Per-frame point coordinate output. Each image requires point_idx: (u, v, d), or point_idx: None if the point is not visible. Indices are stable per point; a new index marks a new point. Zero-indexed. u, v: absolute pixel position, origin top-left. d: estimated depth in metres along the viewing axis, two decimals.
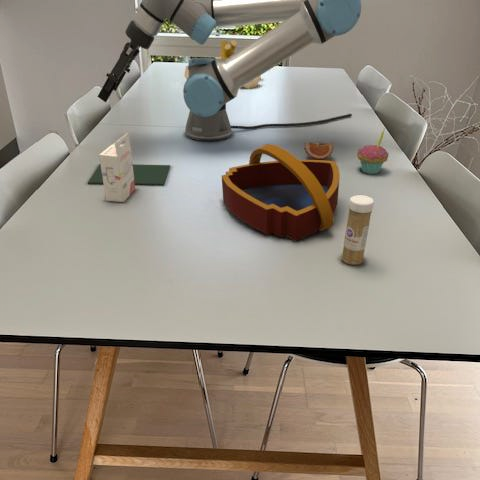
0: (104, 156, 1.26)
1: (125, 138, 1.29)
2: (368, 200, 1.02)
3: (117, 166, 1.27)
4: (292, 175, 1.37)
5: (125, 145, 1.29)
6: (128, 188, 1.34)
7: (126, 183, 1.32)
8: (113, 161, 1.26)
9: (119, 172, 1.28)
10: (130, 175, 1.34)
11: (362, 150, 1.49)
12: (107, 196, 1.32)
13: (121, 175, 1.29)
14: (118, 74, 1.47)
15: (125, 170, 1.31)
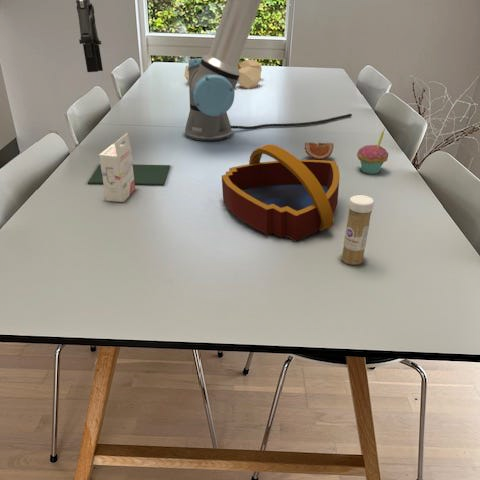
0: (104, 156, 1.26)
1: (125, 138, 1.29)
2: (368, 200, 1.02)
3: (117, 166, 1.27)
4: (292, 175, 1.37)
5: (125, 145, 1.29)
6: (128, 188, 1.34)
7: (126, 183, 1.32)
8: (113, 161, 1.26)
9: (119, 172, 1.28)
10: (130, 175, 1.34)
11: (362, 150, 1.49)
12: (107, 196, 1.32)
13: (121, 175, 1.29)
14: (88, 30, 1.33)
15: (125, 170, 1.31)
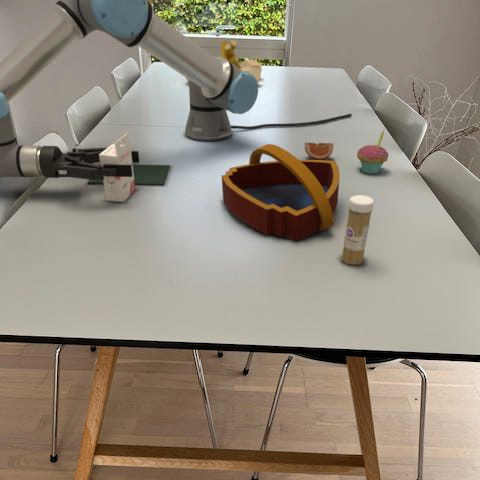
0: (104, 155, 1.26)
1: (125, 138, 1.29)
2: (368, 200, 1.02)
3: None
4: (292, 175, 1.37)
5: (125, 145, 1.29)
6: (128, 188, 1.34)
7: (126, 183, 1.32)
8: (113, 160, 1.26)
9: None
10: None
11: (362, 150, 1.49)
12: (107, 196, 1.32)
13: None
14: (88, 171, 1.24)
15: None
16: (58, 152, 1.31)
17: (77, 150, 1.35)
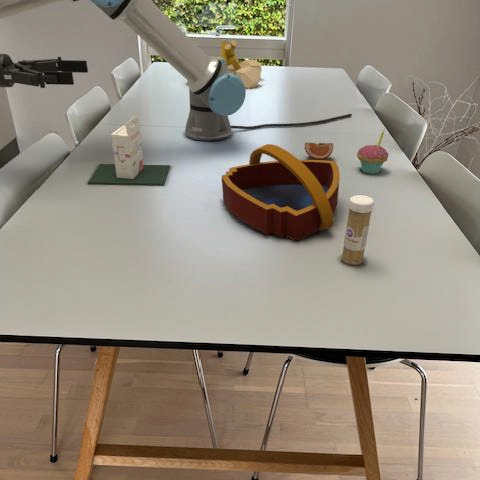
0: (116, 135, 1.37)
1: (135, 119, 1.40)
2: (368, 200, 1.02)
3: (127, 145, 1.38)
4: (292, 175, 1.37)
5: (135, 126, 1.40)
6: (137, 166, 1.45)
7: (135, 161, 1.43)
8: (124, 140, 1.37)
9: (129, 150, 1.39)
10: (139, 154, 1.45)
11: (362, 150, 1.49)
12: (117, 173, 1.43)
13: (131, 154, 1.40)
14: (28, 76, 1.24)
15: (135, 149, 1.42)
16: (8, 60, 1.32)
17: None
